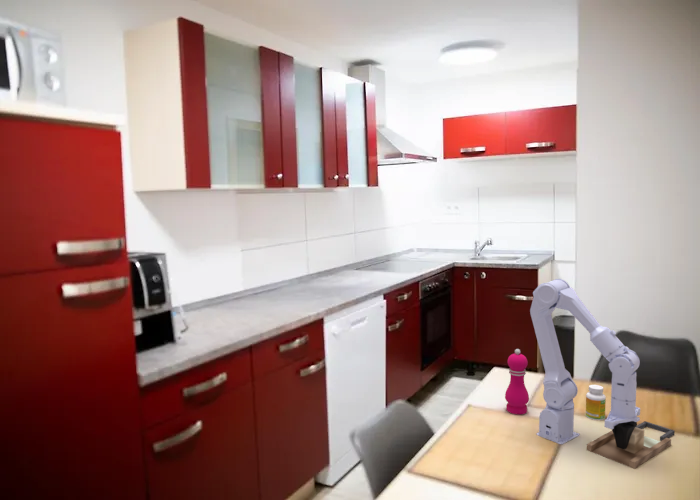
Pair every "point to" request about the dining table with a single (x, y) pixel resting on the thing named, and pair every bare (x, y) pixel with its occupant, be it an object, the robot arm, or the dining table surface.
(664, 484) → the dining table surface
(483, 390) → the dining table surface
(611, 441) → the walled channel
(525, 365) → the pepper mill
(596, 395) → the supplement bottle
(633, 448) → the maple block
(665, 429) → the tray
